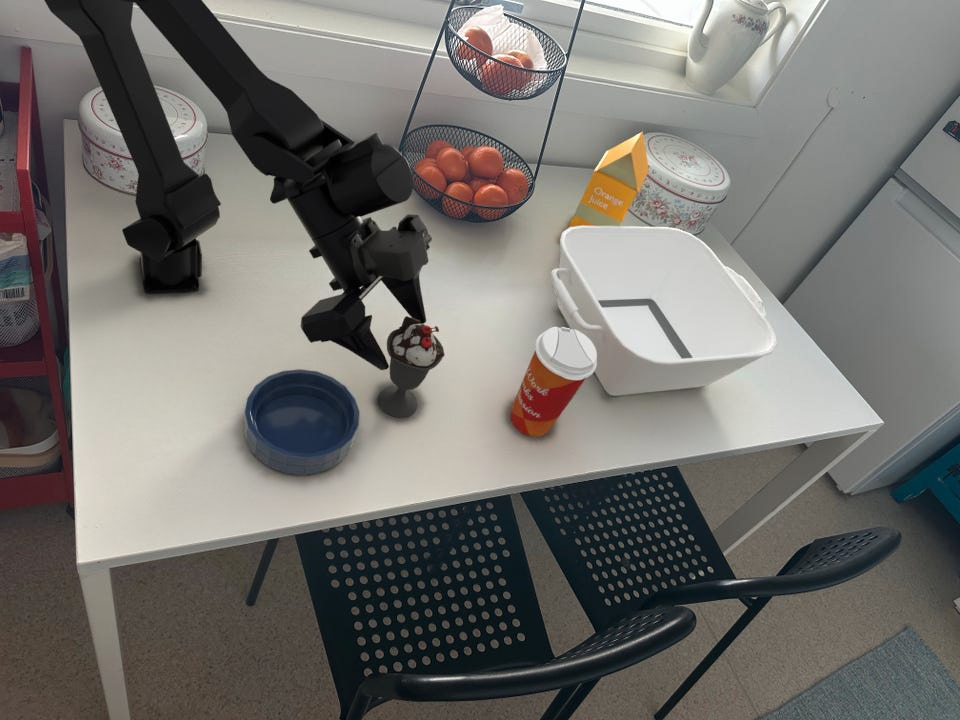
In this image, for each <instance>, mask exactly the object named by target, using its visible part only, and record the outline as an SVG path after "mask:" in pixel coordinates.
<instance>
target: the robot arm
mask: <svg viewBox="0 0 960 720" xmlns="http://www.w3.org/2000/svg"><path fill="white" fill-rule="evenodd" d="M43 1H44V2H45V5H47V8H48V10H49V11H50V12H51V13H52V15H54V16H55V17H56V18H57V19H58V20H59V21H61V22H62V23H63V24H64V25H65V26H66V27H68V28H69V29H70V30H71V31H73V33H74V34H76V35H77V37H78V38H79V39H80V41H81V43H82V46H83V49H84V51H85V52H86V55H87V57H88V59H89V62H90V64H91V66H92V69H93V71H94V73H95V76H96V79H97V80H98V83H99V85H100V88H101V90H102V92H103V94H104V97H105V100H106V101H107V104H108V106H109V108H110V110H111V113H112V115H113V118H114V120H115V122H116V125H117V127H118V129H119V130H120V131H119V132H120V133H121V136H122V138H123V141H124V143H125V145H126V148H127V150H128V152H129V155H130V157H131V159H132V161H133V164H134V166H135V169H136V171H137V175H138V176H137V184H136V192H135V193H136V194H135V205H136V209H137V212H138V216H139V219H137V220H135V221H134V222H132V223H131V224H129V225H127V226H125V227H124V228H122V230H121V232H122V234H123V237H124V239H125V241H126V244H127V246H129V247H130V248H133V249H134V250H136V251H138V252H140V256H139V258H138V259H139V268H140V275H141V283H142V289H143V292H144V293H146V294H160V293H182V292H197V291H199V290H200V282H199V281H200V280H199V278H202V276H203V252H202V247H201V242H200V240H199V239H197V238H198V237H200V236H201V235H203V234H204V233H205V232H207V231H208V230H211V228H213V227H214V226H216V225H217V223H218V221H219V219H220V218H221V215H220V213H221V212H220V209H219V207H220V206H221V205H222V202H221V201H220V199H219V198H218V197H217V195H216V192H215V189H214V186H213V182H212V179H211V177H210V176H209V175H208V174H207V173H200V174H199V172H197V171H196V170H195V169H193V168H192V167H191V166H189V165H188V164H187V163H186V162H185V160H184V158H183V157H182V154H181V152H180V149H179V147H178V144H177V141H176V139H175V136H174V133H173V131H172V127H171V125H170V123H169V121H168V118H167V116H166V113H165V111H164V108H163V106H162V102H161V100H160V97H159V94H158V92H157V90H156V88H155V85H154V82H153V80H152V77H151V74H150V72H149V69H148V67H147V63H146V61H145V58H144V56H143V54H142V51H141V49H140V47H139V43H138V41H137V39H136V36H135V34H134V30H133V28H132V21H133V20H132V19H133V11H134V4H136V6H137V7H138V8H139V9H140V10H141V11H142V12H143V14H144V15H145V16H146V17H147V18H148V19H149V21H150V22H151V23H152V24H153V25H154V27H155V28H156V29H157V30H158V31H159V32H160V33H161V34H162V36H163V38H164V39H165V40H166V41H167V42H168V43H169V44H170V45H171V46H172V47H173V49H174V50H175V51H176V52H177V54H178V55H179V56H180V57H181V58H182V59H183V61H184V62H185V63H186V64H187V65H188V66H189V68H190V69H191V70H192V71H193V72H194V73H195V74H196V76H197V77H198V78H199V79H200V80H201V82H202V83H203V84H204V85H205V86H206V87H207V88H208V90H209V91H210V92H211V93H212V95H214V96H215V98H216V99H217V100H218V101H219V103H220V104H221V106H222V107H223V109H224V110H225V112H226V115H227V119H228V123H229V128H230V132H231V135H232V137H233V138H234V140H235V141H236V143H237V144H238V146H239V147H240V148H241V150H242V152H243V153H244V155H245V156H246V157H247V159H248V160H249V162H250V163H251V165H252V166H253V167H254V168H255V169H257V171H258V172H260V173H261V174H263V175H264V176H266V177H268V176H271V177H273V187H272V191H271V193H270V198H269V201H270V203H272V204H273V205H275V204H278V203H281V202H283V201H285V200H287V201H288V203H289V205H290V206H291V208H292V209H293V212H294V213H295V215H296V216H297V218H298V220H299V221H300V223H301V225H302V226H303V228H304V230H305V231H306V233H307V234H308V236H309V238H310V239H311V241H312V242H313V244H314V245H313V247H311V248H310V249H308V252H309V254H310V255H311V257H312V258H313V259H317V258H320V257H322V259H323V261H324V262H325V264H326V266H327V268H328V269H329V270H330V272H331V274H332V276H333V277H334V278H333V279H332V280H331V281H330V282H328V285H329V287H330V288H331V290H332V292H336V291H340V290H342V291H343V292H342V293H341V294H337V295H334V296H331V297H326V298H323V299H319V300H318V301H317V302H316V303H315V304H314V305H313V306H312V307H311V308H310V309H309V310H308V311H306V313H304V314H303V315H302V316H301V319H300V328H301V330H302V332H303V334H304V335H305V337H306V339H307V340H308V341H309V343H311V344H312V343H316V342H321V343H326V342H332V343H334V344H336V345H338V346H340V347H342V348H343V349H346V350H348V351H350V352H351V353H353V354H355V355H356V356H358V357H359V358H361V359H363V360H364V361H366V362H367V363H369V364H370V365H371V366H373V367H375V368H377V370H380V371H386V370H388V369H390V364H389V363H388V360H387V358H386V356H385V353H384V352H383V350H382V348H381V346H380V344H379V343H378V341H377V339H376V338H375V336H374V334H373V332H372V330H371V326H372V319H373V314H369V315H366V305H365V304H364V302H363V300H364V298H366V296H368V294H369V293H370V292H371V291H372V290H373V289H374V288H375V287H376V286H377V285H378V284H379V283H380V282H382V284H383V285H384V286H385V287H386V288H387V290H388V291H389V292H390V293H391V295H392V296H393V297H394V298H395V299H396V301H397V302H398V303H399V304H400V305H401V307H402V308H403V309H404V310H405V312H406V313H407V315H409V317H410V318H414V319H416V320H419V321H420V324H424V325H425V324H426V322H427V317H426V311H425V306H424V300H423V294H422V289H421V280H420V273H421V271H422V268H423V267H424V266H427V264H428V263H429V261H430V260H429V256H428V250H429V249H430V245H429V244H430V243H432V240H433V238H432V235H431V234H429V232H428V228H427V226H426V225H425V223H424V222H423V220H422V219H421V217H420V215H419V214H406V215H405V216H404V217H403V218H402V219H401V220H400V221H399V223H398V226H392V227H391V228H390V229H389V230H382V229H381V228H380V226H379V225H378V223H377V221H376V220H374V219H373V218H372V216H369V217H367V218H362V217H365V216H366V215H370V214H373V213H376V212H380V211H381V210H384V209H387V208H390V207H394V206H396V205H399V204H402V203H405V202H407V201H408V200H409V199H410V197H411V196H412V194H413V190H414V177H413V173H412V170H411V167H410V163H409V161H408V160H407V158H406V156H404V155H403V154H401V152H400V151H399V150H398V149H396V147H394V146H392V145H390V144H388V143H383V141H382V139H381V136H380V135H379V133H377V132H374V133H372V134H370V135H368V136H365V138H363V139H361V140H360V141H359V142H355V141H354V140H352V139H350V138H349V137H348V136H346V135H345V134H343V133H342V132H340V131H339V130H337V129H336V128H335V127H333V126H331V125H330V124H328V122H325V121H324V120H322V119H321V118H320V117H319V115H318V114H317V113H316V112H315V111H314V110H313V109H312V108H311V107H310V106H309V105H308V104H307V103H306V102H305V101H304V100H302V98H301V97H299V95H297V94H296V93H295V92H294V91H293V90H292V89H290V88H289V87H287V86H284V85H283V84H280V83H279V82H277V81H275V80H273V79H270V78H269V77H268V76H267V75H266V74H265V73H264V72H263V71H262V70H260V69H259V68H258V67H257V65H256V64H255V63H254V61H253V60H252V59H251V58H250V57H249V56H248V54H247V53H246V51H244V49H243V48H242V47H241V46H240V45H239V44H238V42H237V41H236V40H235V38H234V37H233V36H232V35H231V34H230V32H229V31H228V30H227V28H225V26H224V25H223V24H222V23H221V21H219V19H218V18H217V17H216V15H215V14H214V13H213V12H212V11H211V9H210V8H209V7H208V6H207V5H206V3H205V2H204V1H203V0H43Z"/></svg>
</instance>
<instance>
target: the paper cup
mask: <svg viewBox="0 0 960 720" xmlns="http://www.w3.org/2000/svg"><path fill="white" fill-rule="evenodd" d="M596 359H597V352H596V349H595V346H594V344H593V343H592V342H591V340H590V339H589V338H588V337H587V336H585V335H584V334H583V333H581V332H579V331H578V330H575V329H573V330H570V328H568V327H565V326H560V327H558V326H552V327H549V328H548V329H547V330H545V331H544V332H543V333H540V334H539V336H538V337H537V338H536V339H535V344H534V352H533V354H532V357H531V359H530V362H529V364H528V366H527V369H526V371H525V373H524V376H523V378H522V381H521V383H520V386H519V389H518V391H517V393H516V396H515V398H514V401H513V404H512V407H511V410H510V420H511V423H512V425H513V426H514V427H515V428H516V429H517V430H518V432H520V433H522V434H524V435H526V436H529V437H542V436H544V435H545V434H547V433H548V432H549V431H550V430H551V428H552V427H554V424H555V423H556V422H557V421H558V419H559V418H560V416H561V415H562V414H563V412H564V411H565V409H566V408H567V407H568V405H569V403H570V402H571V401H572V399H573V398H574V397H575V395H576V393H577V392H578V391H579V389H580V388H581V387H582V385H583V383H584V382H585V380H586V379H588V377H590V376H591V375H593V374H594V371H595V369H596V365H597V361H596Z"/></svg>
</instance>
